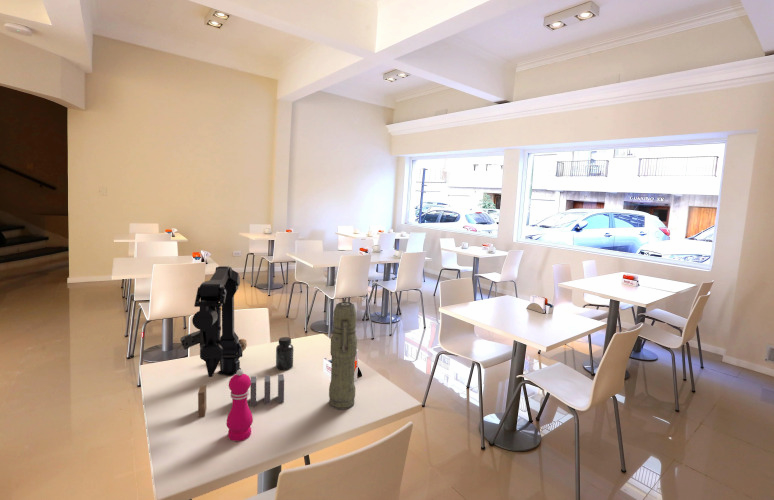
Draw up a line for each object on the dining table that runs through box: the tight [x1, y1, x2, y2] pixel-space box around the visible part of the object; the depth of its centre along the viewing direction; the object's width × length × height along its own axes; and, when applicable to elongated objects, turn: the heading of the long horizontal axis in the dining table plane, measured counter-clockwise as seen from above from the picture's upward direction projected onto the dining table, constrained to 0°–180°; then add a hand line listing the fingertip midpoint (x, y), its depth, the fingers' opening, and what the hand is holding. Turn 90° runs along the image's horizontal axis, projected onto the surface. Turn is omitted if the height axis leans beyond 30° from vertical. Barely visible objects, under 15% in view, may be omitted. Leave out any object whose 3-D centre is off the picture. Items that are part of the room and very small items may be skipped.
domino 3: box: [263, 374, 271, 405], centre depth 140 cm, size 2×5×8 cm, turn 17°
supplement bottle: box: [275, 336, 294, 371], centre depth 167 cm, size 7×7×12 cm
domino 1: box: [197, 384, 207, 418], centre depth 130 cm, size 2×5×8 cm, turn 17°
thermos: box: [328, 301, 358, 410], centre depth 139 cm, size 9×12×35 cm
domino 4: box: [277, 373, 285, 404], centre depth 141 cm, size 2×5×8 cm, turn 17°
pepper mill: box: [225, 368, 254, 442], centre depth 118 cm, size 7×7×20 cm
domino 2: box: [249, 375, 257, 407], centre depth 138 cm, size 2×5×8 cm, turn 17°
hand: (210, 372), depth 129 cm, fingers open, 9 cm apart
